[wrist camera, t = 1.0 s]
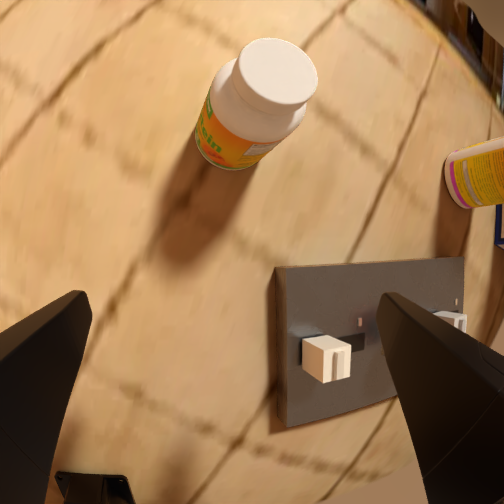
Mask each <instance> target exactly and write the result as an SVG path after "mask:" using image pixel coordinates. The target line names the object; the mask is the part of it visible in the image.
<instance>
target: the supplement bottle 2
mask: <svg viewBox="0 0 504 504" xmlns="http://www.w3.org/2000/svg"><path fill="white" fill-rule="evenodd" d="M445 180H446V184H447V188H448V190H449V193H450V195H451V197H452V198H453V200H454V201H455V202H456V203H457V204H458V205H459V206H461V207H463V208H476V207H483V206H490V205H496V204H503V203H504V136H502V137H499V138H496V139H492V140H489V141H485V142H482V143H479V144H475V145H472V146H469V147H465V148H462V149H459V150H456V151H453V152H452V153H450V154H449V155H448V157H447V159H446V162H445Z"/></svg>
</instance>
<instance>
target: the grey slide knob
mask: <svg viewBox="0 0 504 504" xmlns="http://www.w3.org/2000/svg"><path fill="white" fill-rule="evenodd" d="M433 314H434V315H436V316H438V317H439V318H441V319H443V320H444V321H446V322H448V323H449V324H451V325H453V326H454V327H456V328H458V329H459V330H461V331H463V332H464V333H466V323H467V315H466V314H459V313H453V312H447V311H440V312H436V313H433Z"/></svg>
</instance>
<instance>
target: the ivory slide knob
mask: <svg viewBox="0 0 504 504" xmlns="http://www.w3.org/2000/svg"><path fill="white" fill-rule="evenodd" d="M350 361H351V345H350V344H348V343H345V342H343V341H340V340H338V339H336V338H333V337H331V336H329V335H325V336H319V337H313V338H306V339H302V369H303V370H305V371H306V372H308V373H309V374H310V375H312V376H313V377H315V378H316V379H318V380H319V381H320V382H322V383H326V382H330V381H335V380H339V379H343V378H347V377H350Z"/></svg>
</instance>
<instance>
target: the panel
mask: <svg viewBox="0 0 504 504" xmlns="http://www.w3.org/2000/svg"><path fill="white" fill-rule="evenodd" d="M275 286H276V330H277V416H278V418H279V419H280V420H281V421H282V422H283V423H284V425H285V426H286V427H287V428H288V427H292V426H296V425H301V424H305V423H309V422H313V421H317V420H320V419H324V418H328V417H331V416H335V415H338V414H342V413H345V412H348V411H352V410H355V409H358V408H361V407H364V406H367V405H370V404H373V403H376V402H379V401H382V400H385V399H387V398H390V397H393V396H395V395H397V392H396V389H395V386H394V383H393V380H392V377H391V374H390V371H389V369H388V366H387V363H386V359H385V356H384V351H383V347H382V343H381V339H380V335H379V331H378V327H377V324H376V312H377V308H378V305H379V301H380V298H381V295H382V294H383V293H384V292H397V293H398V294H400V295H402V296H404V297H405V298H407V299H409V300H410V301H412V302H414V303H416V304H417V305H419V306H421V307H422V308H424V309H426V310H428V311H429V312H431V313H436V312H440V311H447V312H453V313H459V314H463V299H464V257H437V258H422V259H407V260H391V261H375V262H359V263H341V264H323V265H305V266H285V267H275ZM325 335H329V336H331V337H333V338H336V339H338V340H340V341H343V342H345V343H348V344H350V345H351V361H350V377H347V378H343V379H339V380H335V381H330V382H326V383H322V382H320V381H319V380H318V379H316V378H315V377H313V376H312V375H310V374H309V373H308V372H306V371H305V370H303V369H302V339H306V338H313V337H319V336H325Z"/></svg>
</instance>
